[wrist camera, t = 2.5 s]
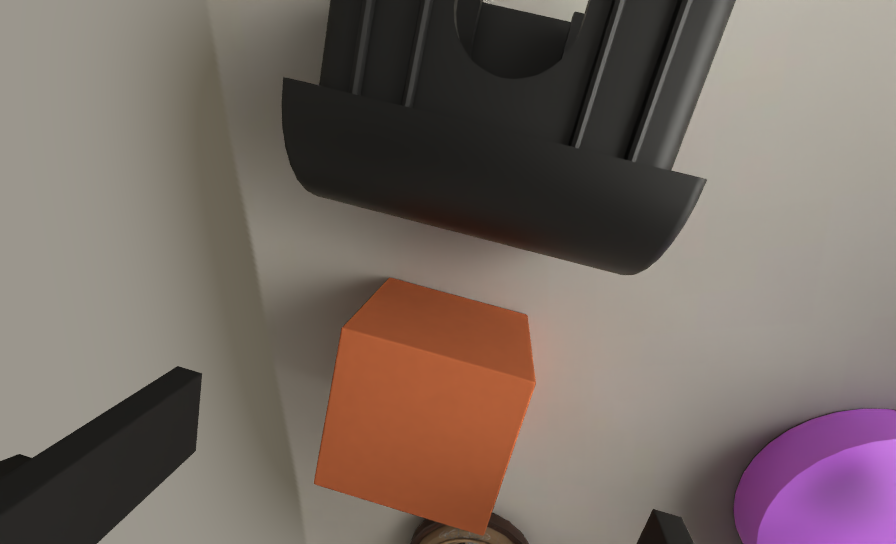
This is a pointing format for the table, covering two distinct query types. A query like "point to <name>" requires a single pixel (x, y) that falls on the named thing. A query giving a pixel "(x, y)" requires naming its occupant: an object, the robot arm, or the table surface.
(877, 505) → the figurine
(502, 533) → the compass
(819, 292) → the table surface
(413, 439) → the orange cube
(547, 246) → the end cap
